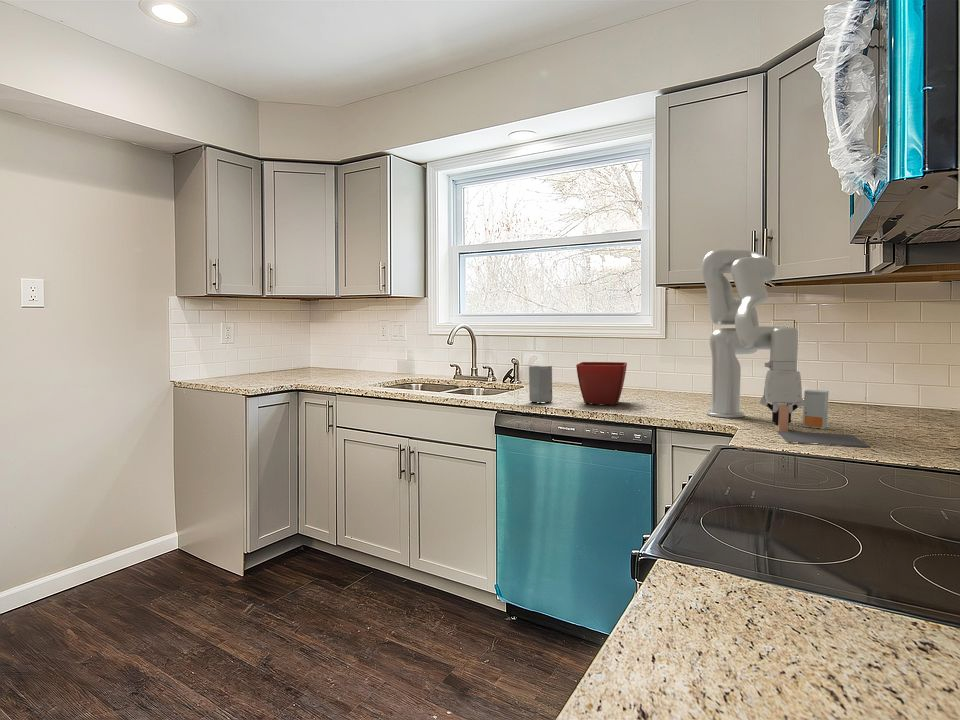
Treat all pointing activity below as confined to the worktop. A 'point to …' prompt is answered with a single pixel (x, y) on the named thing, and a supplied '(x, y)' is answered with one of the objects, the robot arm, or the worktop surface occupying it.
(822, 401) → the skincare box
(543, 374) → the grey canister
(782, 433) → the mat
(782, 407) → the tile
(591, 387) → the plant pot
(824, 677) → the worktop surface
